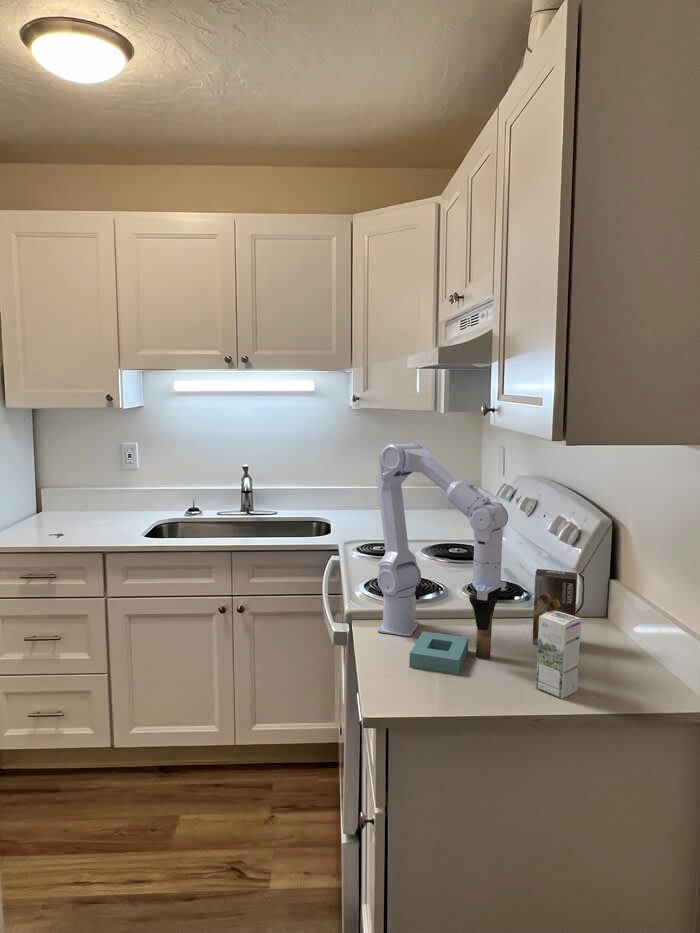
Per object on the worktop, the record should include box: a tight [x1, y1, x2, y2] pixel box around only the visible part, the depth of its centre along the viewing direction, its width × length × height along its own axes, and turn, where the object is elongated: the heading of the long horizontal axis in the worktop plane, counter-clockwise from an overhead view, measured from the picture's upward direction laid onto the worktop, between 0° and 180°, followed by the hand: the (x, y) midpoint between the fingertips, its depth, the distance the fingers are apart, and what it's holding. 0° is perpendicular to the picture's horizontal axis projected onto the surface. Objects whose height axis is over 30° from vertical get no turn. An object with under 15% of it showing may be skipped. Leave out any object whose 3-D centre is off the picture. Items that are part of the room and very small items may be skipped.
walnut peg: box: [475, 614, 493, 660], centre depth 135 cm, size 3×3×10 cm
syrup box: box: [535, 611, 582, 700], centre depth 120 cm, size 6×6×14 cm
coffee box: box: [531, 568, 578, 646], centre depth 144 cm, size 9×6×16 cm
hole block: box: [408, 630, 470, 676], centre depth 134 cm, size 13×10×3 cm
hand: (484, 623), depth 135 cm, fingers open, 7 cm apart
